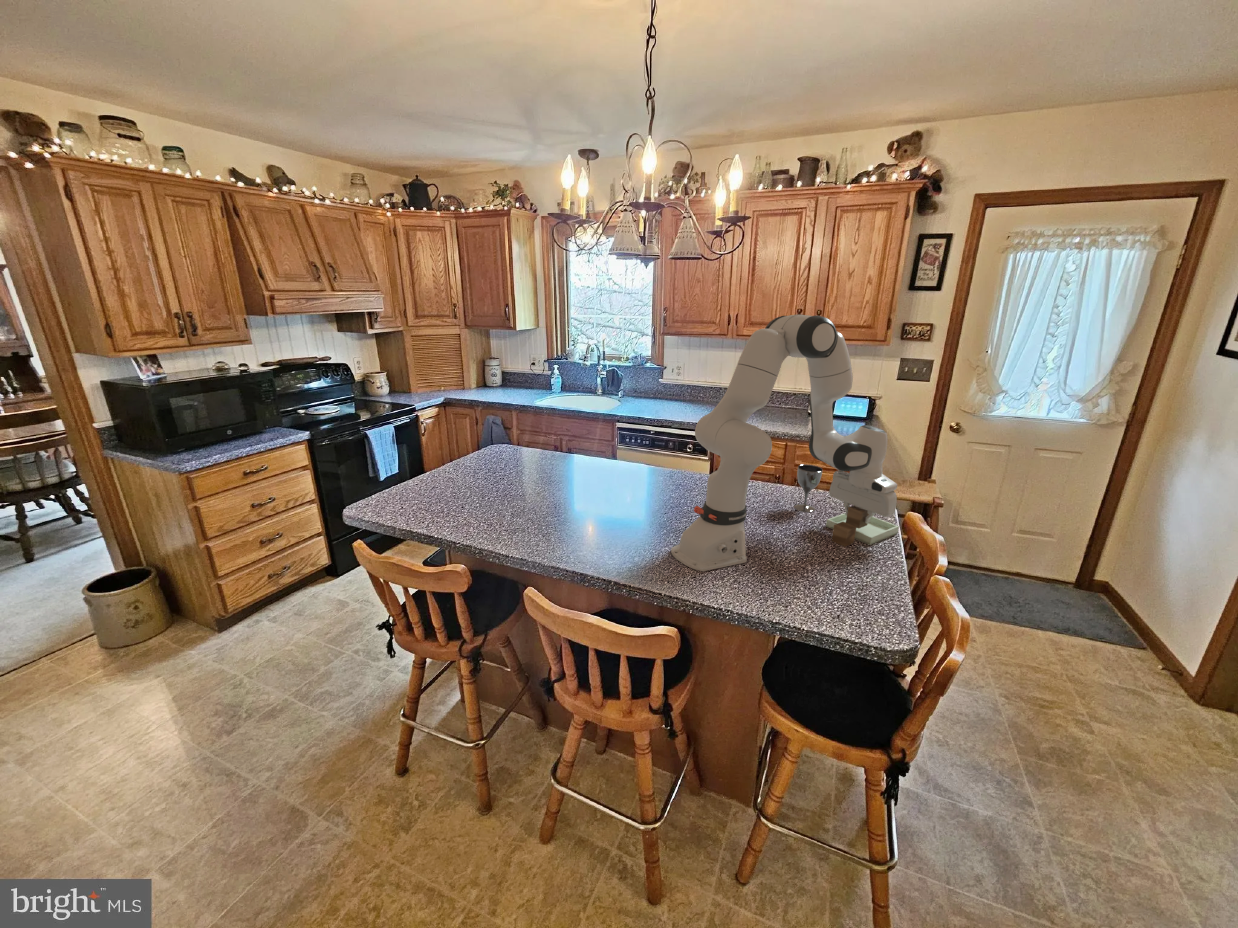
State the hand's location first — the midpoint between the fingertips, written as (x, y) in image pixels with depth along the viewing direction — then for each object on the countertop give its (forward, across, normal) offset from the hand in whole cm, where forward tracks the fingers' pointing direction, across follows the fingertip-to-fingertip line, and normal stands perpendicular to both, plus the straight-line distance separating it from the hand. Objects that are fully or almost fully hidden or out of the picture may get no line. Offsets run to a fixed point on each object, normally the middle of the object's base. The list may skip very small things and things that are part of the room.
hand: (857, 519), depth 156 cm
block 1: (+5, +2, -10) cm, 11 cm away
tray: (+5, 0, +3) cm, 6 cm away
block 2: (+2, 0, 0) cm, 2 cm away
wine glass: (+5, -21, +2) cm, 22 cm away
